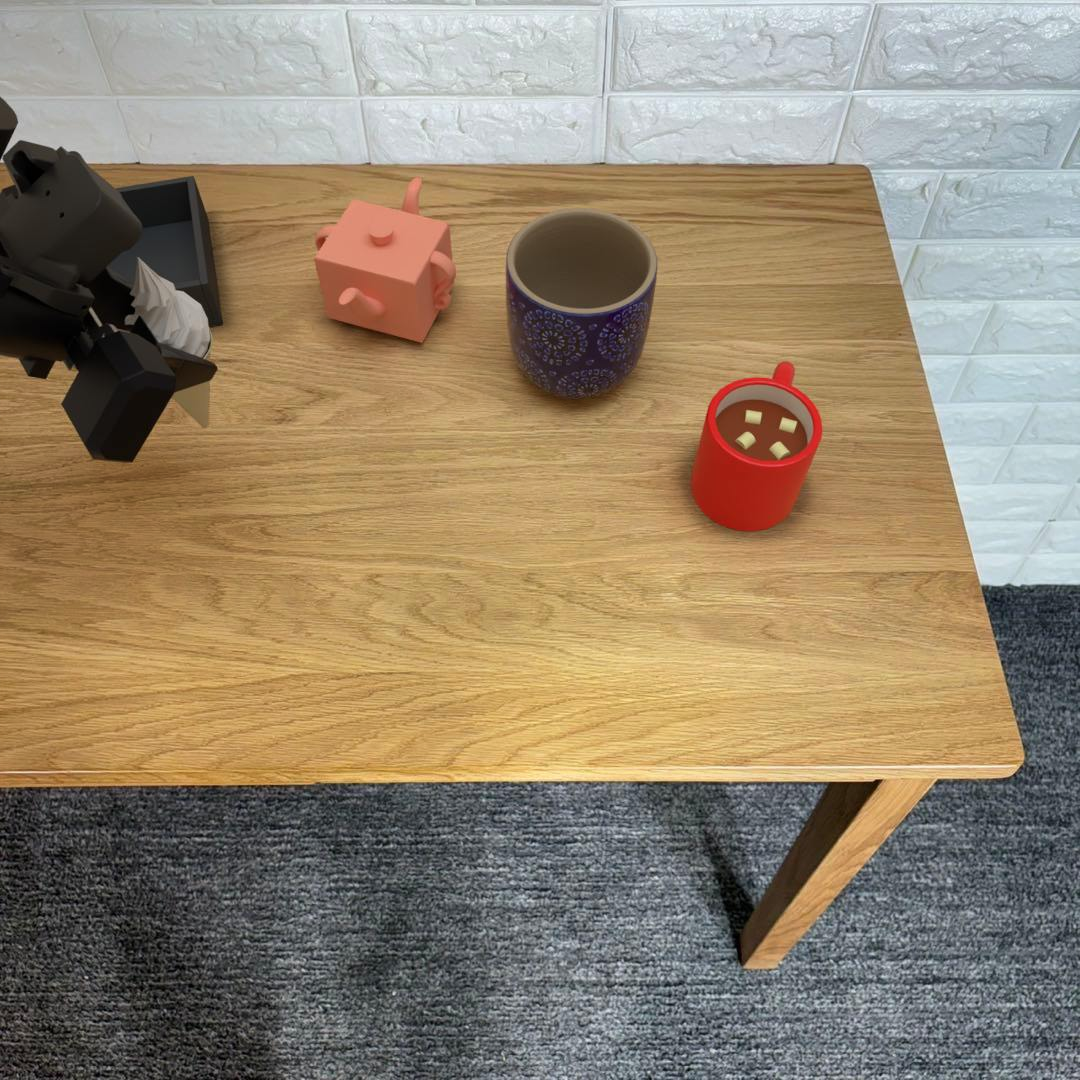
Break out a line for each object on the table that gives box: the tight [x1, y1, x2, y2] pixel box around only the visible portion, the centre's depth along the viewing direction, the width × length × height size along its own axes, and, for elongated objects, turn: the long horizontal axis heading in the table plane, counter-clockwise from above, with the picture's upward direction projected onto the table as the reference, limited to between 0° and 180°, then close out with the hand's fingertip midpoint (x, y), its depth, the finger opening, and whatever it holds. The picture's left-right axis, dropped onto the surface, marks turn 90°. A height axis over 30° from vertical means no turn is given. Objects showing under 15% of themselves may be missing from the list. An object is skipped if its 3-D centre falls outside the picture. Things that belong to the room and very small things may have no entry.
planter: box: [505, 207, 658, 400], centre depth 76 cm, size 11×11×11 cm
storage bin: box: [107, 175, 224, 332], centre depth 83 cm, size 13×13×5 cm
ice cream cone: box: [125, 257, 214, 429], centre depth 63 cm, size 5×5×15 cm
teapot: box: [313, 177, 457, 344], centre depth 80 cm, size 12×15×8 cm
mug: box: [690, 360, 824, 532], centre depth 72 cm, size 8×12×8 cm, turn 160°
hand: (196, 346), depth 63 cm, fingers closed on ice cream cone, 5 cm apart
